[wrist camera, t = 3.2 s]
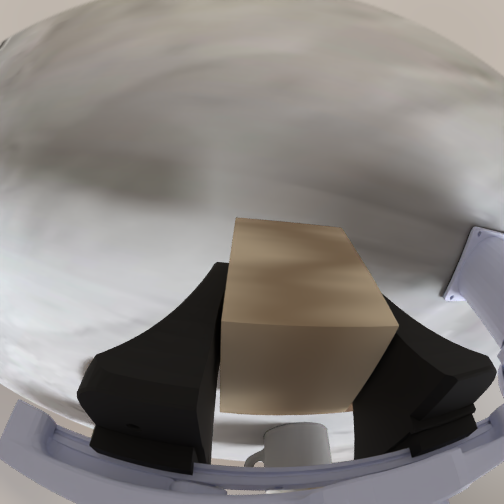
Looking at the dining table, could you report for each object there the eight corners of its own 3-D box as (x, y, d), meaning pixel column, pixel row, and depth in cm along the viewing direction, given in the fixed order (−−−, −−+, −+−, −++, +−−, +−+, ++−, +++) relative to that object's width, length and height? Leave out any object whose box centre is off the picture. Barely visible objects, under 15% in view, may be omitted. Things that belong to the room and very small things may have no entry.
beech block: (341, 227, 12) (399, 325, 6) (319, 308, 14) (345, 411, 8) (235, 217, 11) (221, 321, 6) (230, 303, 14) (219, 412, 8)
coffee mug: (328, 417, 33) (337, 478, 25) (325, 440, 38) (332, 489, 29) (235, 427, 34) (233, 488, 26) (248, 448, 39) (248, 497, 31)
